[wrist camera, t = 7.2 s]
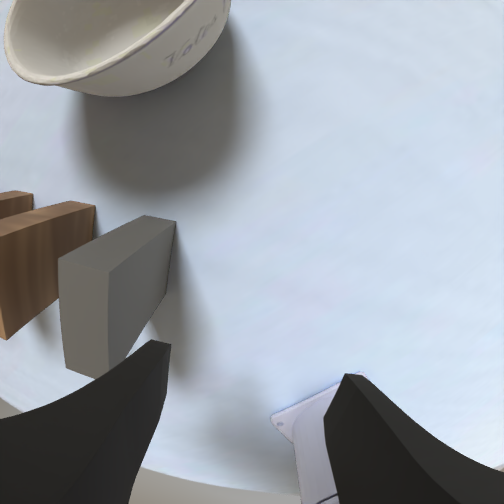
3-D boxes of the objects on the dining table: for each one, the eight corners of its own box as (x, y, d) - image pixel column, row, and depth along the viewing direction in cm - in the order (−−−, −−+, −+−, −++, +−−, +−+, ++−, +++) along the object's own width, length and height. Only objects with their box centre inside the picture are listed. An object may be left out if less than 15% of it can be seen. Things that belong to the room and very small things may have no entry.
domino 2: (95, 205, 17) (-6, 238, 8) (90, 274, 18) (6, 340, 9) (70, 200, 17) (-32, 229, 8) (66, 267, 18) (-21, 326, 9)
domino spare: (175, 221, 17) (108, 272, 9) (165, 293, 18) (109, 384, 10) (144, 215, 17) (58, 258, 8) (136, 286, 18) (66, 367, 10)
